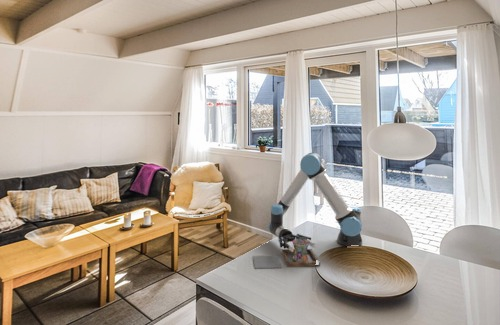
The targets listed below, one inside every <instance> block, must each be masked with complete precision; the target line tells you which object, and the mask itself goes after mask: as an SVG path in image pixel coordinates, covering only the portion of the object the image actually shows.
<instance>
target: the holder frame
mask: <svg viewBox="0 0 500 325" xmlns="http://www.w3.org/2000/svg"><path fill="white" fill-rule="evenodd" d="M294 252H295V250H293V252H292V251H290V250H289V249H287V248H285V249H284V248H283V249H282V250H281V255H282V256H284V257H283V259H284V262H285V265H286V267H287V268H290V267H291V268H292V267H293V268H294V267H296V268H297V267H300V268H301V267H316V266H315V264H316V260H317V259H318V257H317V255H316V253H315V252H314V250H313V248H307V254H310V255H311V257H312V259H313V261H307V262H296V261H289V258H288V256H287V254H294ZM318 260H319V259H318Z"/></svg>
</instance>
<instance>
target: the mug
mask: <svg viewBox="0 0 500 325" xmlns="http://www.w3.org/2000/svg"><path fill="white" fill-rule="evenodd" d="M291 242H292V246H293V247H294V250H295V252H294V253H293V257H292V259H293V262H309V257H308V253H307V249H309V246H310V245H309V243H310V242H309V241H308V240H305V239H296V238H295V239H294V240H293V241H291Z"/></svg>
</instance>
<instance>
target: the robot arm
mask: <svg viewBox="0 0 500 325" xmlns="http://www.w3.org/2000/svg"><path fill="white" fill-rule="evenodd" d="M299 166H300V170H299V171H298V173H297V175H295V177H294V178H293V181H292V182H291V183H290V185H289V186H288V188H287V189H286V190H285V193H284V194H283V195H282V197H281V198H280V199H279V202H278V203H274V204H272V205H271V206H270V222H268V226H267V228H268V231H269V233H271V234H272V235H273V236H275V237H277V238H278V240H277V241H278V242H279V247H280V248H283V249H289V250H290V251H292V252H293V250H294V245H292V244H290V243H289V242H292V241H293V240H294V239H305V240H308V241H309V242H310V243H309V245H308V246H310V247H311V248H312V249H314V248H315V246H316V245H315V244H316V242H313V241H312V237H310V236H306V235H302V234H300V233H297V234H296V235H295V234H293V232H292V231H291V230H290V229H288V228H286V227H285V226H284V224H283V223H284V222H283V220H284V215H285V214H286V213H287V211H288V209H289V208H291V205H292V204H293V202H294V201H295V199H296V198H297V196H298V195H299V193H300V192H301V190H302V189H303V188H304V186H305V184H306V183H307V182H308V180H310V181H313V182H314V183H315V185H316V186H317V188H318V190H319V191H320V193H321V194H322V196H323V197H324V199H325V200H326V202H327V204H328V205H329V207H330V208H331V210H332V211H333V212H334V215H335V216H334V218H335V220H336V222H337V223H338V225H339V228H340V230H339V233H338V235H337V237H336V239H337V240H336V242H337V243H338V244H340V245H342V246H345V247H348V246H351V245H361V246H362V245H363V238H362V235H361V231H362V229H363V223H362V218H361V216H362V211H361V208H360V207H356V206H349V205H348V204H347V203H346V201H345V199H344V198H343V196H342V195H341V193H340V192H339V190H338V189H337V188H336V186H335V184H334V183H333V182H332V180H331V179H330V177H329V176H328V174H327V167H326V166H325V164H324V163H323V160H322V157H321V156H320V154H318V153H316V152H309V153H307V154H305V155H304V156H302V158H301V160H300V165H299Z"/></svg>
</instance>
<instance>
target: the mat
mask: <svg viewBox="0 0 500 325" xmlns="http://www.w3.org/2000/svg"><path fill="white" fill-rule="evenodd" d="M252 259H253V267H254V269H255V270H257V269H258V270H261V269H264V270H265V269H282V264H281V261H280V259H279V256H278V255H252Z"/></svg>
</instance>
